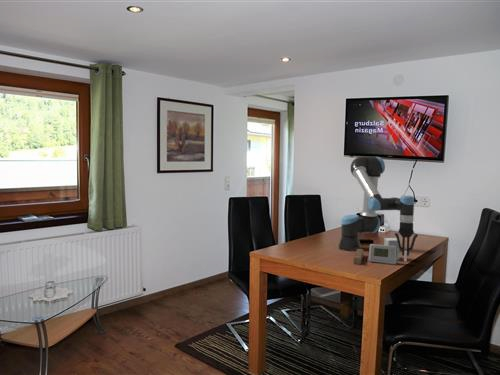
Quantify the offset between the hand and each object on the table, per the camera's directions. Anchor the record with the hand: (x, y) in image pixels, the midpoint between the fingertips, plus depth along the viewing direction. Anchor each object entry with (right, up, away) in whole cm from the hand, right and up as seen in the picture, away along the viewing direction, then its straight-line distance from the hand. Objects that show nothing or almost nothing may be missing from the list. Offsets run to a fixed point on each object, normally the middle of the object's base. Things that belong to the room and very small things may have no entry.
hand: (405, 260), depth 237 cm
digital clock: (-12, -2, +5) cm, 13 cm away
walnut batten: (-25, -1, +11) cm, 27 cm away
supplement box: (-3, -1, +14) cm, 15 cm away
